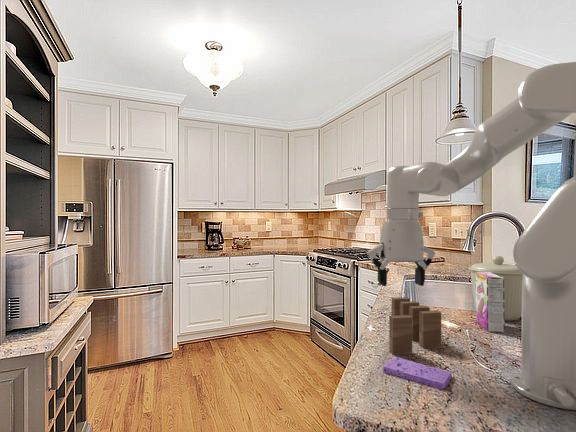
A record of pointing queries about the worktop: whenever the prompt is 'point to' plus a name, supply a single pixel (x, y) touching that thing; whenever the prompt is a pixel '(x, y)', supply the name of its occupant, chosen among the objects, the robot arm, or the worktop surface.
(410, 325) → the tile
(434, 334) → the tile
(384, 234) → the robot arm
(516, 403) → the worktop surface
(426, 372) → the sponges
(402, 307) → the tile
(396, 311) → the tile
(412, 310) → the tile
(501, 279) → the candy bar box
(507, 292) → the canister
